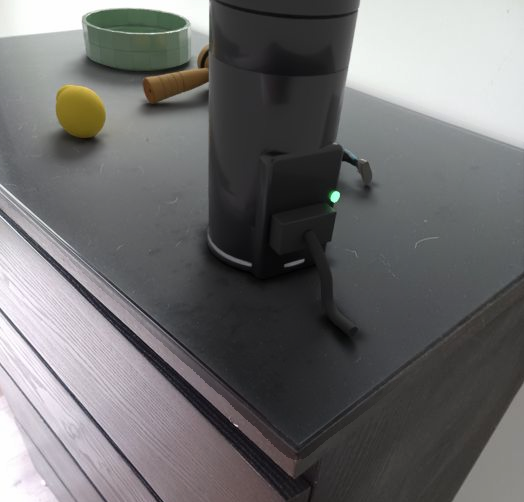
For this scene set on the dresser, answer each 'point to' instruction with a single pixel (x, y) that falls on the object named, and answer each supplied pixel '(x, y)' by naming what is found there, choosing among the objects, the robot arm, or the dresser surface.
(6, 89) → the dresser surface
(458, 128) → the dresser surface
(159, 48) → the bowl
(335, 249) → the dresser surface
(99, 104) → the yellow lemon
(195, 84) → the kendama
